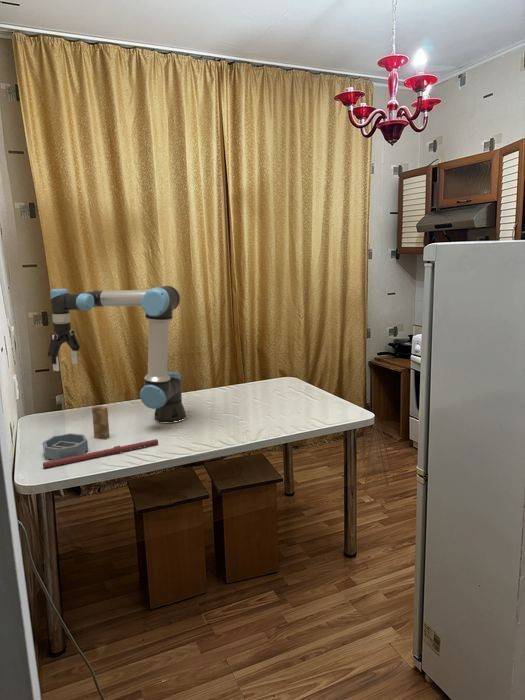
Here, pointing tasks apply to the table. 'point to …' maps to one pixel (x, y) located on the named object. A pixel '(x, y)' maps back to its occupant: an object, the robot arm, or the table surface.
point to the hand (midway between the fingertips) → (65, 367)
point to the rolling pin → (98, 453)
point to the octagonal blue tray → (65, 446)
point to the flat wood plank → (100, 422)
